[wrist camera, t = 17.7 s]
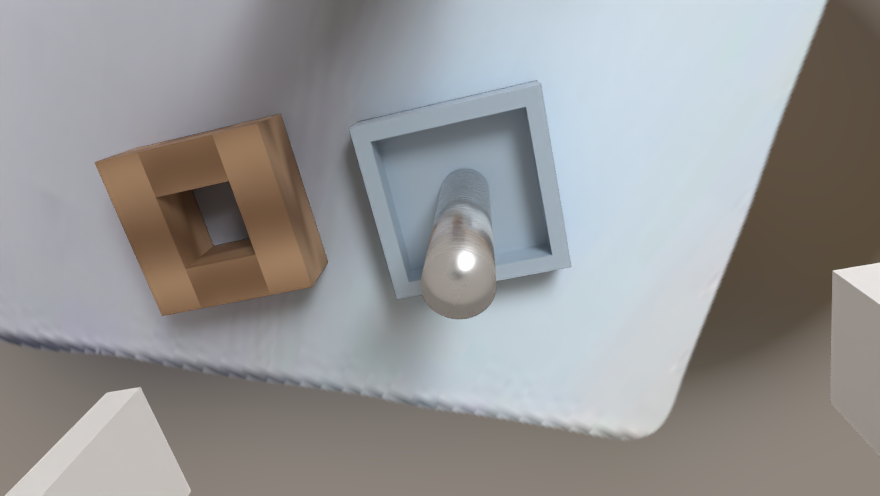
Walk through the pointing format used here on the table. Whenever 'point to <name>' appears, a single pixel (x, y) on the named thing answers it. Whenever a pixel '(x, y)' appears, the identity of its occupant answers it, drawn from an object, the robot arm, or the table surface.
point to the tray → (465, 146)
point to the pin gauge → (461, 248)
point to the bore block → (183, 229)
